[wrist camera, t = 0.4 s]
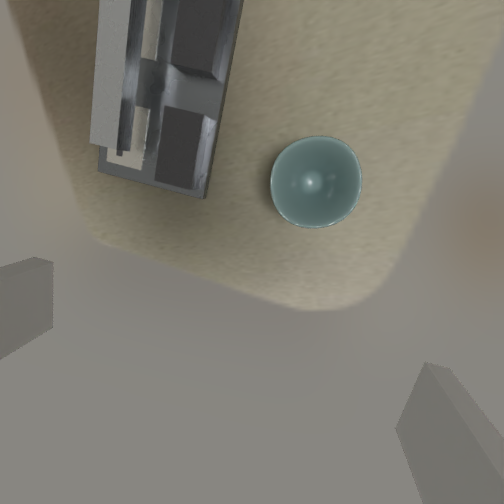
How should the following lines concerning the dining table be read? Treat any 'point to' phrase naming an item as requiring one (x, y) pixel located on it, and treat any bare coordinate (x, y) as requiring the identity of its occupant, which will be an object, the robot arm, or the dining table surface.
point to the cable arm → (116, 72)
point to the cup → (316, 182)
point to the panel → (179, 95)
